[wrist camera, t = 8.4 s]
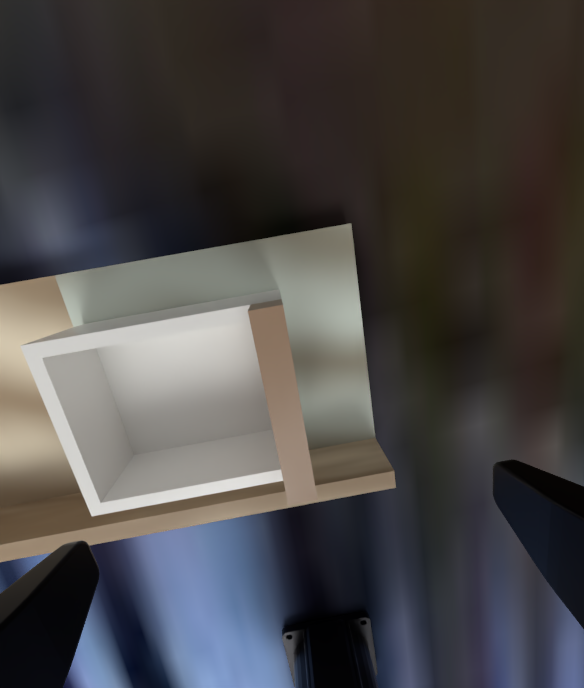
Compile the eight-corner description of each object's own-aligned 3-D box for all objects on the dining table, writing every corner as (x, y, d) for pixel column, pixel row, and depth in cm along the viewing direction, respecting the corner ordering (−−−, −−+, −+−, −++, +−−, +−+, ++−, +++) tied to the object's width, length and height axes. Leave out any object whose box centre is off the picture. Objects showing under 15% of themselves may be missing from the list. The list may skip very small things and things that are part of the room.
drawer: (304, 428, 18) (317, 499, 13) (130, 460, 18) (71, 546, 13) (279, 289, 16) (283, 304, 11) (81, 324, 16) (-15, 357, 10)
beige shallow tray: (371, 443, 20) (395, 487, 16) (-60, 523, 19) (-142, 588, 16) (346, 225, 16) (369, 215, 13) (-180, 317, 16) (-322, 336, 12)
